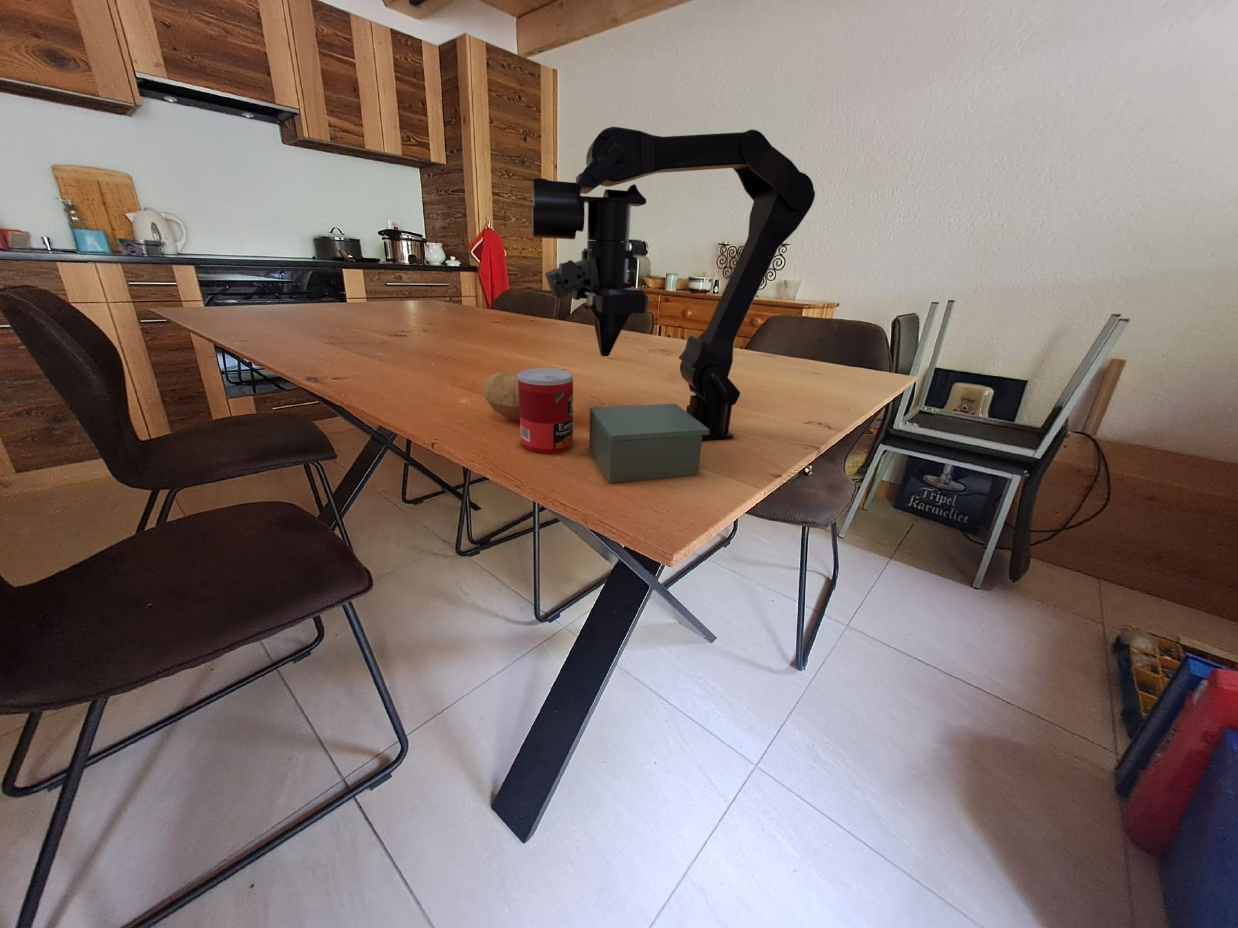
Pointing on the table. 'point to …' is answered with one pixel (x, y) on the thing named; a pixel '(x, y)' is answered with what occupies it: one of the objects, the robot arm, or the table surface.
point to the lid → (646, 422)
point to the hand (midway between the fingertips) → (604, 355)
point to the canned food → (546, 409)
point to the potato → (503, 394)
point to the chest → (644, 456)
